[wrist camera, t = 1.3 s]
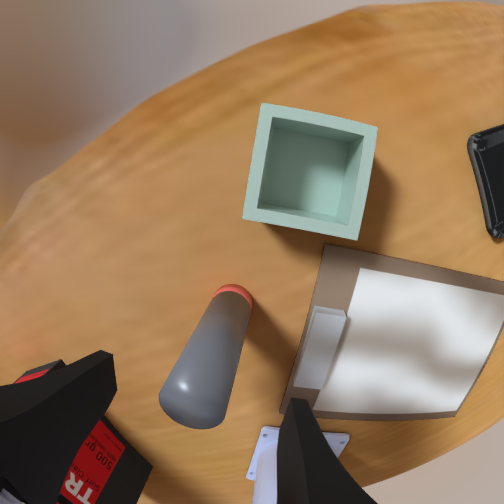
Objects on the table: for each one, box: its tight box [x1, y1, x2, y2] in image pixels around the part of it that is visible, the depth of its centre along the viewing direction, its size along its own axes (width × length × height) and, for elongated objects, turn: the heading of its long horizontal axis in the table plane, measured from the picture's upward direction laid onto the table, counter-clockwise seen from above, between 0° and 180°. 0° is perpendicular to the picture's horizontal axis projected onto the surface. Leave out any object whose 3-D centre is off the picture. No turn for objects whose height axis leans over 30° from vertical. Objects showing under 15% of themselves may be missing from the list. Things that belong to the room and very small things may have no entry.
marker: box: [159, 284, 253, 429], centre depth 15 cm, size 3×3×10 cm
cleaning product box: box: [13, 359, 153, 504], centre depth 16 cm, size 16×9×20 cm, turn 26°
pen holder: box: [242, 103, 378, 240], centre depth 15 cm, size 6×6×4 cm
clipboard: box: [279, 243, 504, 421], centre depth 18 cm, size 14×18×1 cm
